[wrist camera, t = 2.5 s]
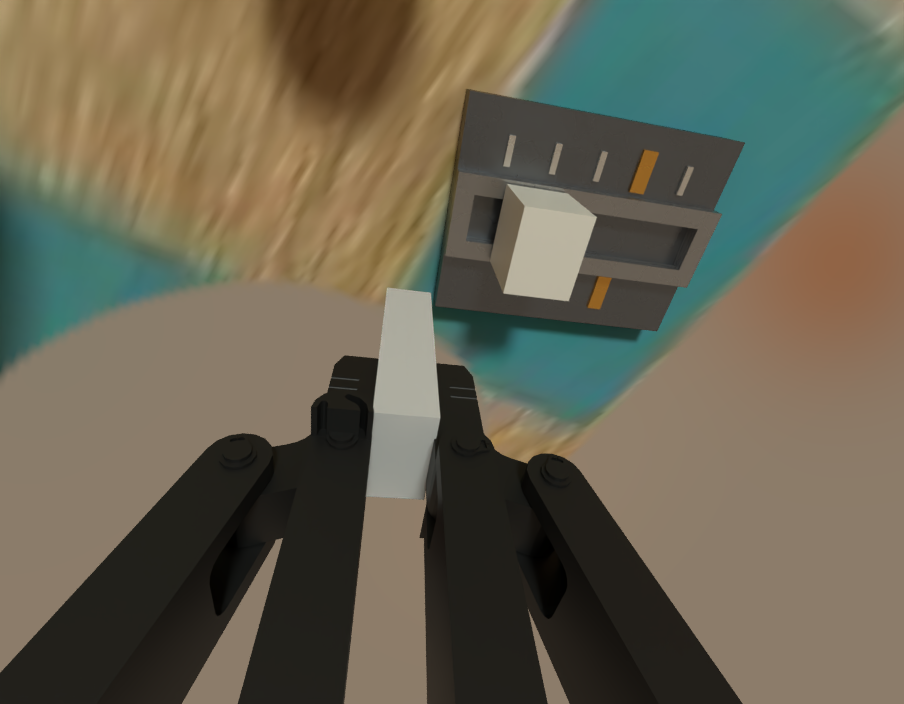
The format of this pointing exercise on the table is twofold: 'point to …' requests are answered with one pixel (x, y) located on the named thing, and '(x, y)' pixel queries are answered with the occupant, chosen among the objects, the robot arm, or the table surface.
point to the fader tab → (540, 242)
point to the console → (596, 188)
